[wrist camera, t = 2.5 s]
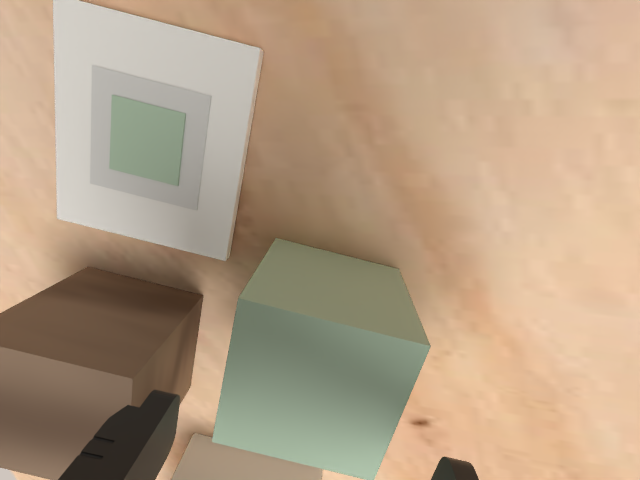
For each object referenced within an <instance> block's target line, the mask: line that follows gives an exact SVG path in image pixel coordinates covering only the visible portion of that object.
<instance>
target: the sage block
mask: <svg viewBox="0 0 640 480" xmlns="http://www.w3.org/2000/svg"><path fill="white" fill-rule="evenodd" d="M430 347H431V346H430V343H429V341H428V339H427V336H426V334H425V331H424V329H423V326H422V324H421V322H420V319H419V317H418V314H417V312H416V309H415V307H414V305H413V302H412V300H411V297H410V295H409V292H408V290H407V288H406V285H405V283H404V280H403V278H402V275H401V273H400V271H399V269H397V268H393V267H389V266H385V265H381V264H377V263H373V262H369V261H365V260H362V259H358V258H354V257H350V256H346V255H342V254H338V253H334V252H330V251H326V250H322V249H318V248H314V247H310V246H306V245H302V244H298V243H294V242H290V241H286V240H283V239H279V238H276V239H275V240H274V242H273V244H272V245H271V247H270V248H269V250H268V252H267V253H266V255H265V256H264V258H263V259H262V261H261V263H260V264H259V266H258V267H257V269H256V271H255V272H254V274H253V275H252V277H251V279H250V280H249V282H248V283H247V285H246V287H245V288H244V290H243V291H242V293H241V295H240V296H239V298H238V302H237V308H236V313H235V319H234V324H233V329H232V335H231V340H230V346H229V351H228V357H227V362H226V367H225V373H224V378H223V384H222V389H221V395H220V400H219V405H218V411H217V416H216V422H215V427H214V433H213V438H212V442H214V443H218V444H222V445H226V446H230V447H234V448H238V449H243V450H247V451H251V452H255V453H259V454H263V455H267V456H271V457H275V458H279V459H284V460H288V461H292V462H296V463H300V464H304V465H308V466H312V467H316V468H321V469H325V470H329V471H333V472H337V473H341V474H345V475H349V476H353V477H357V478H362V479H366V480H374V479H375V476H376V474H377V472H378V469H379V467H380V465H381V462H382V460H383V457H384V455H385V453H386V450H387V448H388V446H389V443H390V441H391V439H392V436H393V434H394V432H395V429H396V427H397V424H398V422H399V420H400V417H401V415H402V413H403V410H404V408H405V406H406V403H407V401H408V399H409V396H410V394H411V392H412V389H413V387H414V384H415V382H416V380H417V377H418V375H419V373H420V370H421V368H422V366H423V363H424V361H425V359H426V356H427V354H428V351H429V349H430Z"/></svg>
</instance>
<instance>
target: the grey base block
mask: <svg viewBox="0 0 640 480" xmlns="http://www.w3.org/2000/svg"><path fill="white" fill-rule="evenodd" d="M212 438H213V437H209V436H205V435H201V434H197V433H194V434H193V436H192V438H191V440H190V442H189V444H188V446H187V448H186V450H185V452H184V454H183V456H182V458H181V460H180V462H179V464H178V466H177V468H176V470H175V472H174V475H173V477H172V479H171V480H322V469H321V468H316V467H312V466H308V465H304V464H300V463H296V462H292V461H288V460H284V459H279V458H275V457H271V456H267V455H263V454H259V453H255V452H251V451H247V450H243V449H238V448H234V447H230V446H226V445H222V444H218V443H214V442H212Z"/></svg>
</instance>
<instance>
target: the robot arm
mask: <svg viewBox="0 0 640 480" xmlns="http://www.w3.org/2000/svg"><path fill="white" fill-rule="evenodd" d="M179 404H180V395H177V394H173V393H169V392H164V391H160V390H153V391H152V392H151V393H150V394H149V395H148V397H147V398H146V399H145V401H144V402H143V403H142V405H141V406H140V407H135V406H131V405H127V406H125V407H124V408H122V409H121V410H119V411H118V412H117V413H115V414H114V415H112V416H111V417H109V418H108V419H107V420H106V422H105V423H104V424H103V425H102V426H101V428H100V429H99V430H98V431H97V433H96V434H95V435H94V437H93V439H92V440H90V441H89V442H88V444H87V445H86V446H85V447H84V448H83V450H82V451H81V453H80V455H78V456H77V457H76V458H75V459H74V461H73V462H72V463H71V464H70V465H69V467H68V468H67V469H66V470H65V472H64V473H63V474H62V475H61V476H60V478H59V479H58V480H155V479H156V477H157V475H158V473H159V471H160V470H161V468H162V466H163V464H164V462H165V460H166V458H167V456H168V454H169V452H170V450H171V447H172V444H173V441H174V438H175V434H176V427H177V419H178V412H179ZM431 480H479V479H478V476H477V474H476V472H475V469H474V467H473V466H472V464H471V463H469V462H466V461H462V460H457V459H453V458H448V457H442V458H441V460H440V461H439V464H438V466H437V468H436V470H435V472H434V474H433V476H432V479H431Z"/></svg>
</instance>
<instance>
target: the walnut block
mask: <svg viewBox="0 0 640 480" xmlns="http://www.w3.org/2000/svg"><path fill="white" fill-rule="evenodd" d="M202 302H203V295H199V294H195V293H191V292H187V291H183V290H179V289H175V288H171V287H167V286H163V285H159V284H155V283H151V282H147V281H143V280H139V279H135V278H131V277H127V276H123V275H119V274H115V273H111V272H107V271H103V270H99V269H95V268H90V267H87V268H85V269H83V270H81V271H79V272H77V273H75V274H73V275H72V276H70V277H68V278H66V279H64V280H62V281H60V282H58V283H56V284H55V285H53V286H51V287H49V288H47V289H45V290H43V291H41V292H40V293H38V294H36V295H34V296H32V297H30V298H28V299H26V300H25V301H23V302H21V303H19V304H17V305H15V306H13V307H11V308H9V309H8V310H6V311H4V312H2V313H0V468H5V469H8V470H13V471H17V472H21V473H25V474H29V475H34V476H38V477H42V478H46V479H50V480H58V479H59V478H60V476H61V475H62V474H63V473H64V472H65V470H66V469H67V468H68V467H69V465H70V464H71V463H72V462H73V461H74V459H75V458H76V457H77V456H78V455H80V453H81V451H82V450H83V448H84V447H85V446H86V445H87V444H88V442H89V441H90V440H92V439H93V437H94V435H95V434H96V433H97V431H98V430H99V429H100V428H101V426H102V425H103V424H104V423H105V422H106V420H107V419H108V418H109V417H111V416H112V415H114V414H115V413H117V412H118V411H119V410H121V409H122V408H124V407H125V406H127V405H131V406H135V407H140V406H141V405H142V403H143V402H144V401H145V399H146V398H147V397H148V395H149V394H150V393H151V392H152V391H153V390H160V391H164V392H169V393H173V394H177V395H180V403H181V402H182V400H183V398H184V397H185V395H186V393H187V392H188V390H189V388H190V386H191V379H192V372H193V365H194V358H195V351H196V344H197V337H198V330H199V323H200V316H201V309H202ZM179 405H180V404H179Z"/></svg>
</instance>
